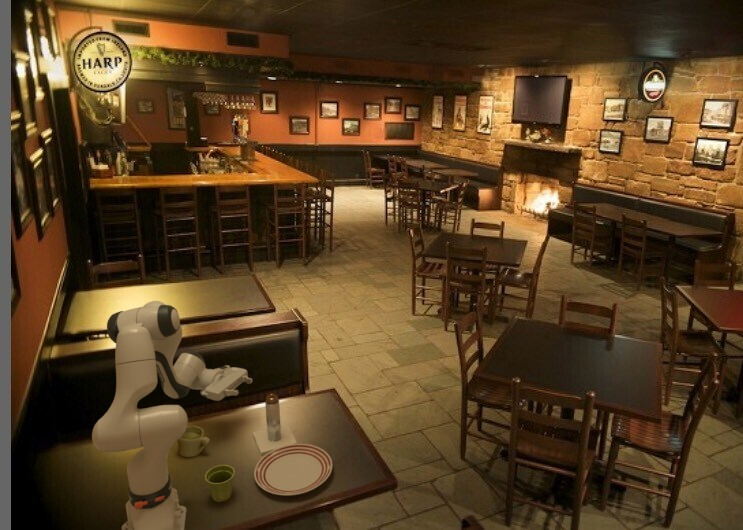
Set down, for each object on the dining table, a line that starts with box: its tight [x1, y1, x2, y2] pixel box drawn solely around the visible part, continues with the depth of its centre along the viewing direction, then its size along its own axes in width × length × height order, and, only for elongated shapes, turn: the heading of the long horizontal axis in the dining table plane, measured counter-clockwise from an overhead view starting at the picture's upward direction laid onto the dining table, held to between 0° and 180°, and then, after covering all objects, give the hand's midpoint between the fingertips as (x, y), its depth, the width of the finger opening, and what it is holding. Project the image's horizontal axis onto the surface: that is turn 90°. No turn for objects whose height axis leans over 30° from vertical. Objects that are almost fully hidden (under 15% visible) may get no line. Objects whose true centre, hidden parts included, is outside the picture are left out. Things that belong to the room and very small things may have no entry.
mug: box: [177, 425, 211, 458], centre depth 191 cm, size 12×10×10 cm
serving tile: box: [252, 423, 298, 456], centre depth 199 cm, size 14×14×1 cm
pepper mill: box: [264, 392, 282, 442], centre depth 196 cm, size 5×5×20 cm
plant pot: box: [204, 464, 235, 503], centre depth 169 cm, size 9×9×9 cm
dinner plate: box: [253, 443, 333, 497], centre depth 181 cm, size 27×27×3 cm
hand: (244, 387), depth 197 cm, fingers open, 8 cm apart
